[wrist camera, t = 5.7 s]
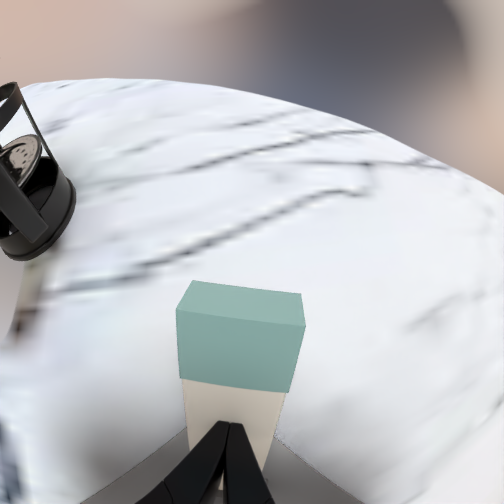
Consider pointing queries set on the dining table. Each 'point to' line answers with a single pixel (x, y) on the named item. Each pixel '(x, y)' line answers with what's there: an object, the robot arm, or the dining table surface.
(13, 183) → the french press
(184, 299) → the lever
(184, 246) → the dining table surface
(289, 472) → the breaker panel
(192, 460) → the robot arm
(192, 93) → the dining table surface
